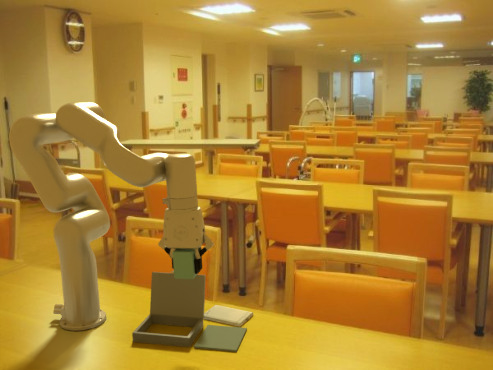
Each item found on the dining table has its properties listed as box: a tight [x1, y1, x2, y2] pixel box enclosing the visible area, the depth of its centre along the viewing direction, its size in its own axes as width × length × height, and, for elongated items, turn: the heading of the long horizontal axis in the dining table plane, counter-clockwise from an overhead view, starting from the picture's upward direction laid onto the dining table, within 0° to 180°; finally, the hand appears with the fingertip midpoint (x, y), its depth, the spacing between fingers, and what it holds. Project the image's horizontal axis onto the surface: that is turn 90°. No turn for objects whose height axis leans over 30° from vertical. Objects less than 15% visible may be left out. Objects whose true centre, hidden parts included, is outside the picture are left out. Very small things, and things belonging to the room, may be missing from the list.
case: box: [131, 313, 204, 348], centre depth 136 cm, size 16×12×2 cm
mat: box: [193, 324, 248, 353], centre depth 133 cm, size 11×12×1 cm
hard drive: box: [203, 304, 254, 328], centre depth 146 cm, size 2×8×12 cm
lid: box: [149, 270, 207, 318], centre depth 142 cm, size 16×12×2 cm
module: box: [173, 249, 198, 279], centre depth 131 cm, size 5×6×7 cm
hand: (187, 271), depth 132 cm, fingers closed on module, 5 cm apart
